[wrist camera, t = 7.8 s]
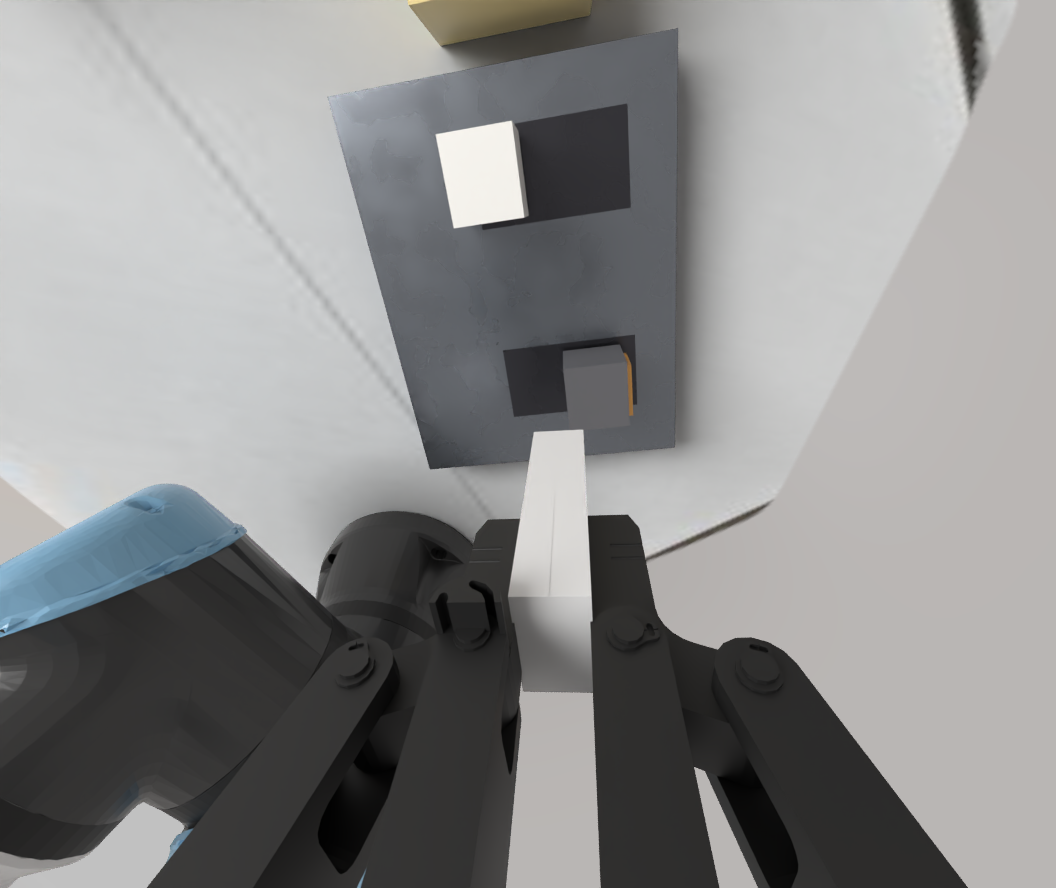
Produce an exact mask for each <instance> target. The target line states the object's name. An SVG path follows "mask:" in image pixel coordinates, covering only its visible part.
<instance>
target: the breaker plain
mask: <svg viewBox="0 0 1056 888" xmlns="http://www.w3.org/2000/svg"><path fill="white" fill-rule="evenodd" d="M436 139H437V144H438V149H439V155H440V160H441V165H442V170H443V175H444V180H445V186H446V191H447V196H448V201H449V206H450V211H451V217H452V222H453V227H454V228H460V227H466V226H473V225H479V224H486V223H492V222H499V221H505V220H512V219H518V218H524V217H527V216H529V213H528V205H527V197H526V189H525V181H524V173H523V165H522V157H521V149H520V140H519V132H518V130H517V128H516V127H515V125H514V123H513V122H512V121H507V122H501V123H496V124H490V125H485V126H479V127H473V128H468V129H462V130H457V131H451V132H446V133H440V134H436Z"/></svg>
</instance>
